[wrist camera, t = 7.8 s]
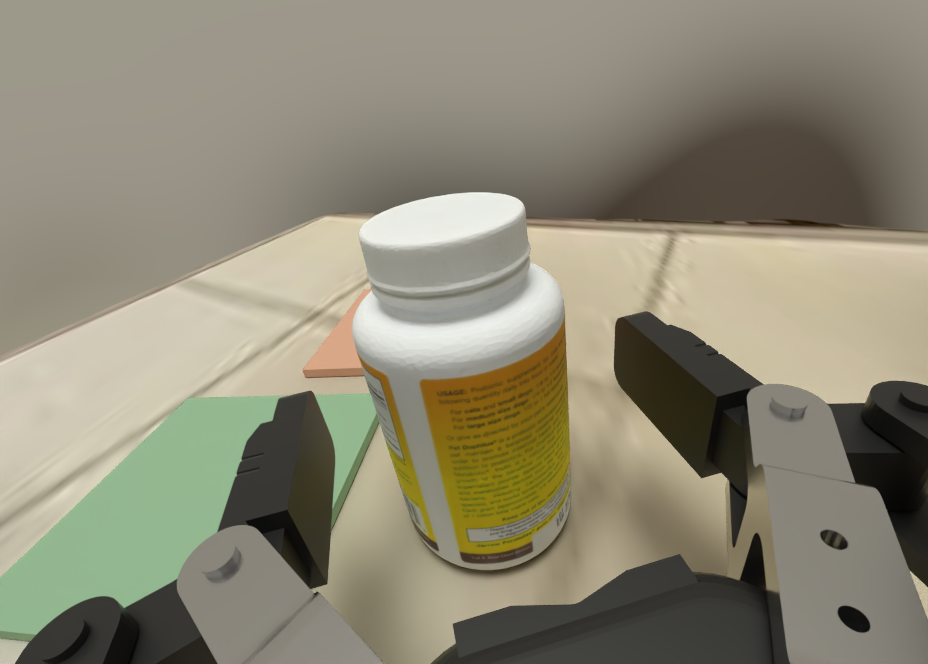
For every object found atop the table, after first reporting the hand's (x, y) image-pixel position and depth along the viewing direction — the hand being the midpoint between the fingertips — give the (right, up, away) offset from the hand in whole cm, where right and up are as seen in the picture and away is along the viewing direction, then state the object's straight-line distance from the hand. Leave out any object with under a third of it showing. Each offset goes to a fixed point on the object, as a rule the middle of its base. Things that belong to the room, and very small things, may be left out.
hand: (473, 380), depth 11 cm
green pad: (-10, -5, +6) cm, 13 cm away
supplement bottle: (+1, -5, +4) cm, 6 cm away
